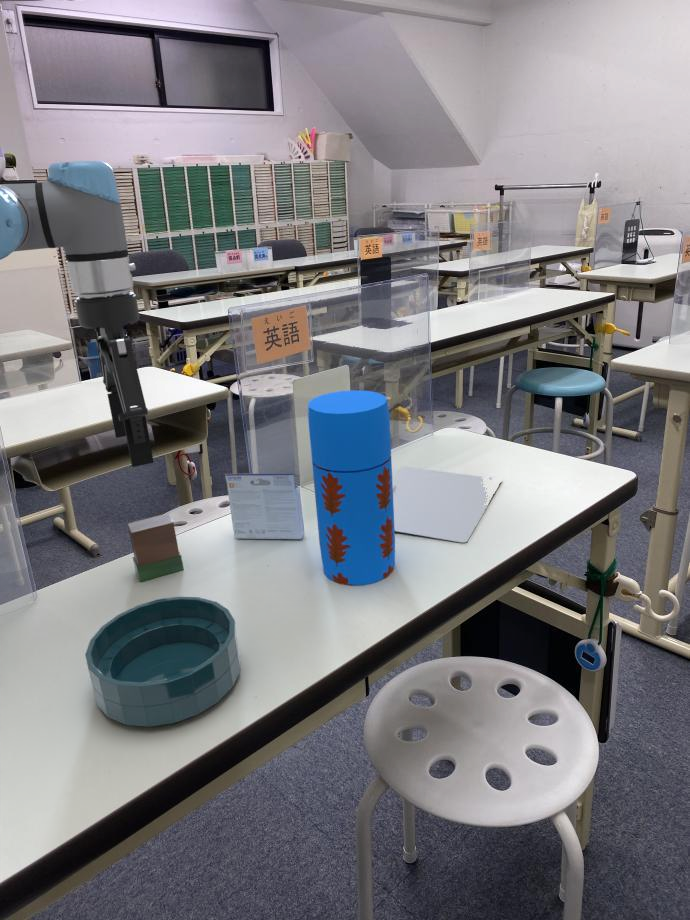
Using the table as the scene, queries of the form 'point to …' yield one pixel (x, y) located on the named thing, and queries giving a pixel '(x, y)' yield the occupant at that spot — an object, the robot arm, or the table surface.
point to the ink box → (265, 506)
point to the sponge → (154, 547)
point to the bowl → (164, 660)
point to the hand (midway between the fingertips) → (133, 449)
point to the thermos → (353, 485)
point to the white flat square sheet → (437, 503)
